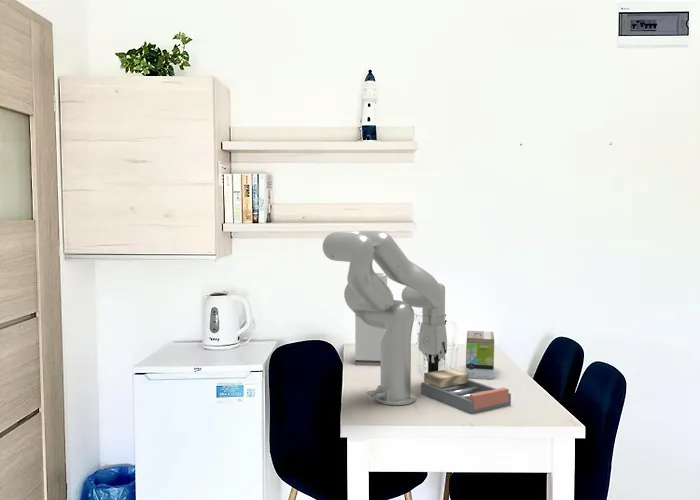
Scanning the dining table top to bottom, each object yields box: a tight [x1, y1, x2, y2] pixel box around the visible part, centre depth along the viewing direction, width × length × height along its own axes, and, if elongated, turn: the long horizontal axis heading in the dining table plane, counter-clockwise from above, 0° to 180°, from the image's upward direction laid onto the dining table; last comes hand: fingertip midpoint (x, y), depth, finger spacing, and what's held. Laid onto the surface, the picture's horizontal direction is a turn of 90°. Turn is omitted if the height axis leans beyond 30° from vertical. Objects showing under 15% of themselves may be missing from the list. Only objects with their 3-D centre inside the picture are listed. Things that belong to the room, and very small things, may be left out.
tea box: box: [465, 330, 495, 380], centre depth 228 cm, size 15×10×15 cm
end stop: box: [470, 387, 510, 409], centre depth 188 cm, size 14×2×4 cm, turn 121°
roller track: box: [420, 378, 512, 415], centre depth 197 cm, size 16×24×4 cm, turn 31°
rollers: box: [429, 383, 488, 400], centre depth 198 cm, size 12×22×2 cm, turn 31°
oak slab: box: [423, 368, 469, 388], centre depth 204 cm, size 12×8×3 cm, turn 121°
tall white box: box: [354, 272, 388, 367], centre depth 245 cm, size 11×11×35 cm
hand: (433, 373), depth 210 cm, fingers closed
